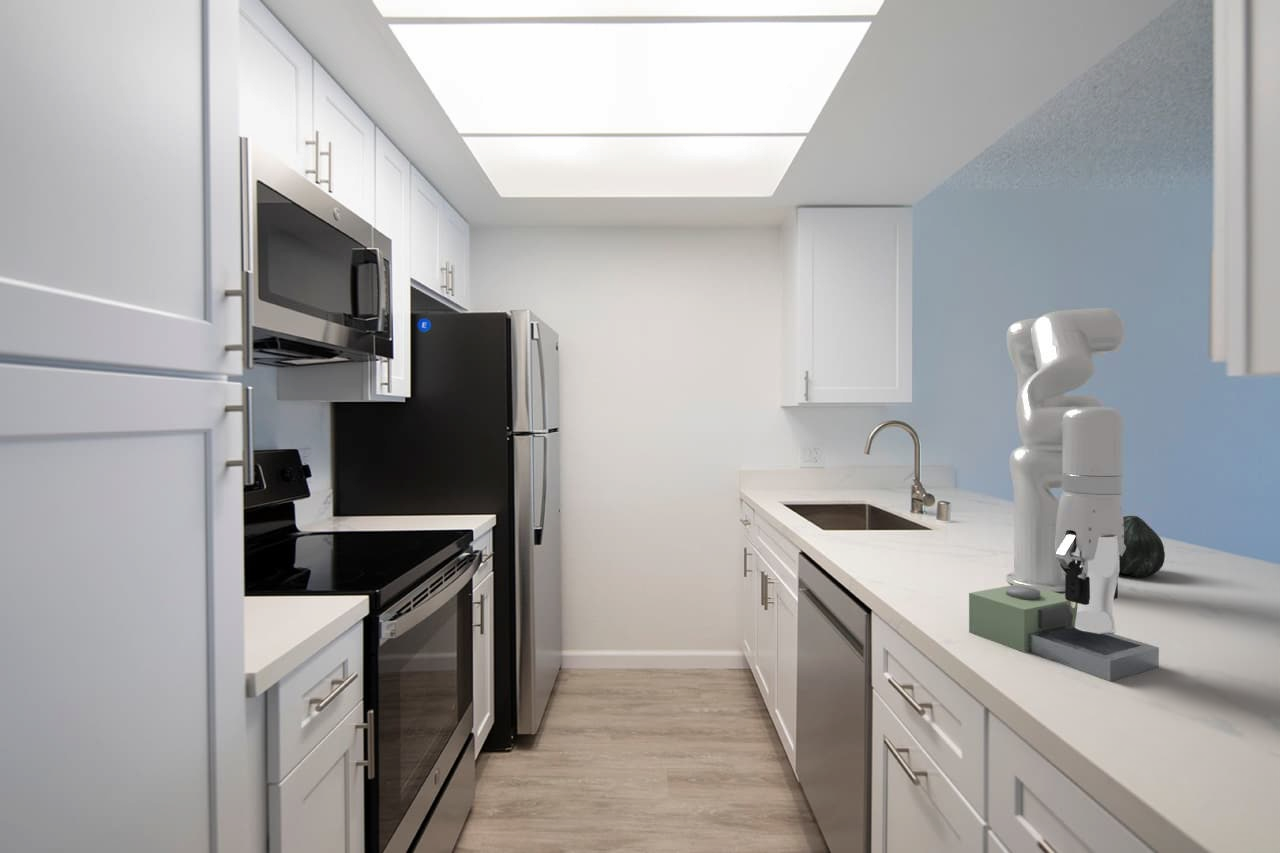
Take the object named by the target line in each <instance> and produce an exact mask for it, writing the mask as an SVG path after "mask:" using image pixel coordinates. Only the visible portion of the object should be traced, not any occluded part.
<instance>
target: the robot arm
mask: <svg viewBox="0 0 1280 853" xmlns="http://www.w3.org/2000/svg"><path fill="white" fill-rule="evenodd" d="M1125 332H1126V327H1125V324H1124V320H1123V318H1122V316H1121V315H1120V313H1118V311H1116V310H1115V309H1114V308H1113V309H1112V308H1109V307H1095V308H1083V309H1081V308H1080V309H1079V308H1078V309H1066V310H1056V311H1051V312H1048V313H1045V314H1043V315H1041V316H1040V317H1033V318H1028V319H1021V320H1019V321H1016V322H1013V323H1012V324H1011V325H1009V327H1008V328H1007V332H1006V348H1007V352H1008V356H1009V358H1010V361H1011V363H1012V365H1013V368H1014V370H1015V374H1016V377H1017V378H1016V379H1017V398H1016V405H1015V406H1016V407H1015V408H1016V419H1017V427H1018V433H1019V437H1020V440H1021V442H1022V443H1023V445H1021V446H1019V447H1017V448H1015V449H1013V450H1012V452H1011V454H1010V455H1009V456H1010V457H1009V470H1010V475H1011V482H1012V490H1013V542H1014V543H1013V545H1014V546H1013V553H1014V554H1013V561H1014V562H1013V566H1014V567H1013V568H1014V569H1013V572H1010V573H1007V574H1006V575H1005V576H1006V577H1005V578H1006V579H1005V580H1006V581H1007V583H1009V584H1010V585H1017V584H1026V585H1029V586H1033V587H1037V588H1041V589H1045V590H1049V591H1052V592H1056V593H1061V592H1065V593H1064V595H1065V598H1066V600H1068V601H1072V602H1075V603H1079V604H1083V605H1088V604H1089V579H1086V575H1087V572H1088V561H1091V560H1093V559H1094V557H1095V553H1096V549H1097V545H1098V539H1099V537H1113V536H1115V535H1118V547H1119V562H1121V560H1122V555H1123V553H1124V551H1125V549H1126V546H1125V544H1124V522H1123V517H1124V513H1123V505H1122V500H1121V498H1123V437H1124V436H1123V435H1124V434H1123V431H1124V428H1123V427H1124V426H1123V425H1124V424H1123V422H1124V421H1123V415H1122V413H1121V411H1119V410H1118V409H1117V408H1114V407H1106V406H1104V404H1103V402H1102V401H1101V400H1100V399H1099V398H1097V397H1095V396H1091V395H1065V394H1066V393H1069V392H1071V391H1073V390H1074V391H1075V390H1076V389H1078V388H1081V387H1082V386H1083V385H1085V384H1086V383H1088V382H1089V381H1090V380H1091V379H1092V378H1093V375H1094V373H1095V370H1096V367H1095V362H1094V359H1093V356H1099V355H1106V354H1112V353H1114V352H1116V351H1117V350H1118V349H1119V348H1121V346H1122V344H1123V343H1124V340H1125V334H1126V333H1125ZM1059 488H1060V489H1061V490H1062V494H1060V495H1061V496H1060V499H1059V498H1058V497H1057V496H1056V495H1055V494H1053V492H1052V490H1051V489H1059ZM1076 545H1077V547H1078V549H1079V551H1081V555H1082V556H1081V557H1077V556H1072V555H1071V553H1072V552H1073V550H1074V549H1075V547H1076ZM1072 560H1076V561H1080V562H1081V565H1080V568H1079V567H1078V566H1077V564H1076V563H1075V562H1072ZM1119 564H1120V563H1119ZM1119 572H1120V567H1119ZM1118 582H1119V581H1117V586H1116V590H1115V595H1114V600H1117V599H1118V598H1119V596H1118V595H1119V594H1118V591H1119V590H1118V587H1119V583H1118Z"/></svg>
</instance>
